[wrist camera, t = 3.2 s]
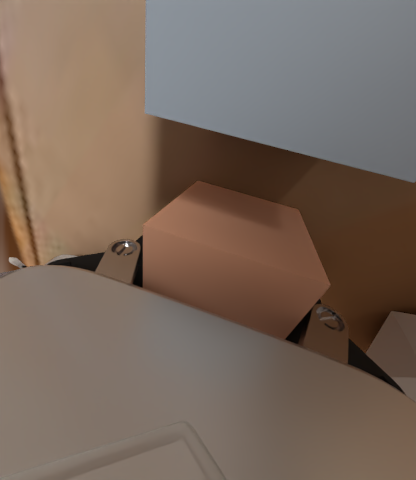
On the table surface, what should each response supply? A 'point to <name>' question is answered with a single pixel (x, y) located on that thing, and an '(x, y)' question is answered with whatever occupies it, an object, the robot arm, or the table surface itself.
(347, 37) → the slate block
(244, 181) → the table surface
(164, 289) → the terracotta block
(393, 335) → the die
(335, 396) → the robot arm
